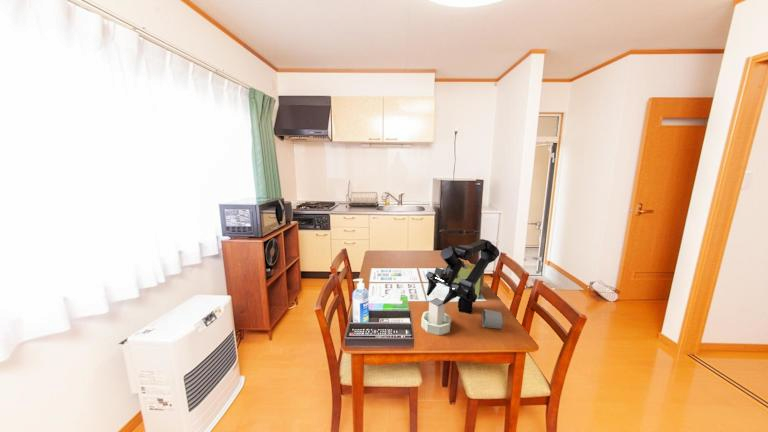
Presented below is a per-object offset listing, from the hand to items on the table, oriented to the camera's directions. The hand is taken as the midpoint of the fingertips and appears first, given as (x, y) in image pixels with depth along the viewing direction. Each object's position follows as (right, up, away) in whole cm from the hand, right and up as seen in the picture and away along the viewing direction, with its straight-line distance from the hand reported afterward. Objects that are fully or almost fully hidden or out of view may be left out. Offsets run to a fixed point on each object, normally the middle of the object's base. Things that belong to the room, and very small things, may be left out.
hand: (435, 299), depth 116 cm
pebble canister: (+1, -12, +3) cm, 13 cm away
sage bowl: (+1, -13, +3) cm, 14 cm away
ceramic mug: (+26, -13, +5) cm, 30 cm away
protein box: (+25, -7, +36) cm, 44 cm away
